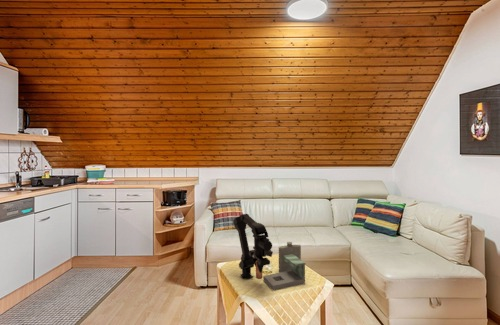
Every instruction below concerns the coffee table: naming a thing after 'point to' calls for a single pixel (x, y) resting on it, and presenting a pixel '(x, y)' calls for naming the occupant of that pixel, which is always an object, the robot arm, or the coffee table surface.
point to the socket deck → (283, 280)
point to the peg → (258, 274)
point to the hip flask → (288, 251)
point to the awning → (296, 265)
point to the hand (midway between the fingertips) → (259, 271)
